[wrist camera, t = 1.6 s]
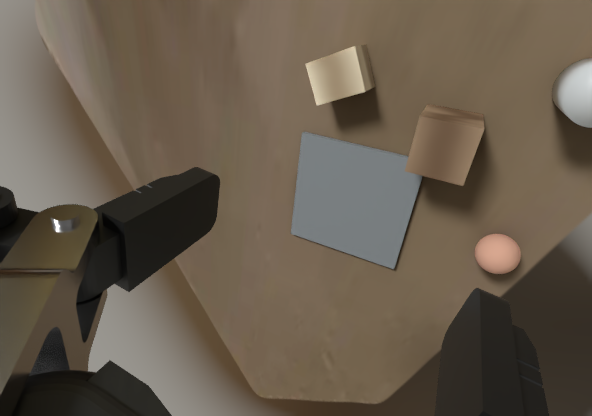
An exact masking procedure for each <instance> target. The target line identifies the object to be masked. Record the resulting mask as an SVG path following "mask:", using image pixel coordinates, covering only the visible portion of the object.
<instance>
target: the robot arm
mask: <svg viewBox="0 0 592 416" xmlns="http://www.w3.org/2000/svg"><path fill="white" fill-rule="evenodd" d="M219 188H220V179H219V177H218V176H217V175H215V174H213V173H210V172H208V171H206V170H203V169H201V168H199V167H194V168H192V169H190V170H188V171H186V172H184V173H181V174H179V175H174V176H168V177H163V178H159V179H157V180H155V181H153V182H151V183H149V184H147V186H145V185H144V186H142V187H140V188H138V189H136V191H132V192H129V193H127V194H125V195H123V196H120V197H118V198H116V199H114V200H112V201H110V202H107V203H105V204H104V205H101V206H99V207H97V208H94V209H92V208H90V207H87V206H84V205H78V204H65V205H58V206H53V207H50V208H47V209H45V210H43V211H41V212H34V211H30V210H26V209H21V208H17V206H16V202H15V198H14V195H13V192H12V191H11V190H9V189H7V188H4V187H1V186H0V416H172V415H171V414H170V413H169V412H168V410H167V409H166V408H165V406H164V405H163V404H162V402H161V401H160V400H159V399H158V397H157V396H156V395H155V393H154V392H153V391H152V390H151V388H150V387H149V386H148V385H146V384H145V383H143V382H142V381H140V380H139V379H137V378H136V377H134V376H133V375H131V374H130V373H128V372H127V371H125V370H124V369H122V368H121V367H119V366H118V365H116V364H115V363H113V362H112V361H109V362H108V363H107V364H105V365H104V366H103V367H102V368H101V369H100V370H99V371H97V372H96V373H95V372H88V360H89V354H90V350H91V347H92V344H93V340H94V337H95V334H96V331H97V327H98V324H99V321H100V318H101V315H102V311H103V308H104V305H105V301H106V298H107V288H109V287H110V286H111V285H113V284H116V285H118V286H120V287H121V288H123V289H125V290H126V291H128V292H130V291H131V290H132V289H134V288H135V287H136V286H138V285H139V284H140V283H142V282H143V281H144V280H145V279H147V278H148V277H150V276H151V275H152V274H153V273H155V272H156V271H158V270H159V269H160V268H162V267H163V266H164V265H166V264H167V263H168V262H170V261H171V260H172V259H174V258H175V257H176V256H178V255H179V254H180V253H182V252H183V251H184V250H186V249H187V248H188V247H190V246H191V245H192V244H194V243H195V242H196V241H198V240H199V239H200V238H202V237H203V236H204V235H206V234H207V233H208V232H209V231H210V230H211V229H212V227H213V225H214V223H215V221H216V217H217V208H218V198H219ZM539 369H540V368H539V363H538V358H537V353H536V349H535V347H534V346H533V344H532V342H531V341H530V339H529V338H528V336H527V334H526V333H525V331H524V330H523V329H521V328H519V327H517V326H514V325H512V319H511V312H510V305H509V302H508V301H507V300H504V299H502V298H500V297H497V296H495V295H493V294H490V293H488V292H486V291H483V290H481V289H479V288H476V289H475V290H473V292H472V293H471V294H470V296H469V297H468V299H467V300H466V302H465V303H464V305H463V306H462V308H461V309H460V311H459V312H458V314H457V315H456V317H455V318H454V320H453V321H452V323H451V325H450V326H449V328H448V330H447V332H446V334H445V337H444V340H443V343H442V349H441V359H440V368H439V378H438V389H437V398H436V408H435V416H549V413H548V408H547V403H546V398H545V393H544V389H543V388H542V385H543V384H542V378H541V373H540V372H539Z"/></svg>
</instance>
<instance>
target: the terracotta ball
mask: <svg viewBox="0 0 592 416" xmlns="http://www.w3.org/2000/svg"><path fill="white" fill-rule="evenodd" d="M475 258H476V260H477V262H478V264H479V265H480V266H481V267H482V268H483V269H484V270H486V271H488V272H490V273H494V274H504V273H508V272H510V271H512V270H514V269H515V268H516V267H517V266H518V264H519V262H520V259H521V251H520V248H519V246H518V245H517V243H516V242H515V241H514V240H513V239H512V238H510V237H508V236H506V235H502V234H490V235H487V236H485V237H483V238H482V239H481V240H480V241H479V242H478V243H477V245H476V247H475Z"/></svg>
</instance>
